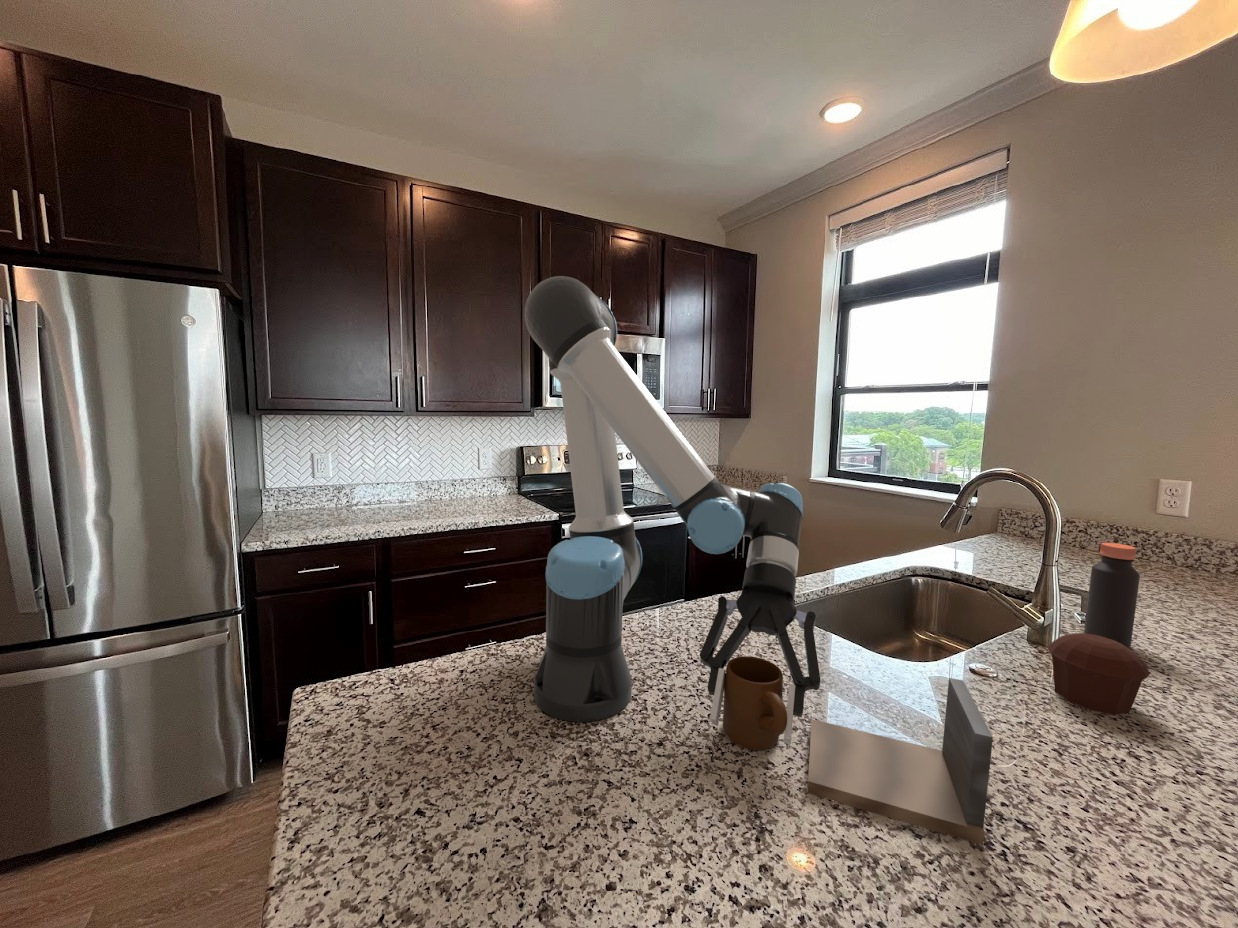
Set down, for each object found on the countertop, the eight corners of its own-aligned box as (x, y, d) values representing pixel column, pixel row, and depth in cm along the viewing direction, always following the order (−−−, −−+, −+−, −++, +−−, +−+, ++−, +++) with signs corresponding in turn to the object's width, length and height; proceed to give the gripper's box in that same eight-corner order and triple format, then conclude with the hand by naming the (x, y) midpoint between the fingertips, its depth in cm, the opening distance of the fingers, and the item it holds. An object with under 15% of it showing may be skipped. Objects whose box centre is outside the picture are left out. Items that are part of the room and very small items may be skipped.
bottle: (1124, 641, 101) (1136, 544, 99) (1135, 654, 95) (1148, 552, 93) (1079, 632, 104) (1090, 539, 102) (1088, 644, 99) (1099, 546, 97)
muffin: (1040, 697, 79) (1047, 637, 78) (1044, 672, 87) (1050, 617, 86) (1149, 731, 71) (1158, 664, 70) (1141, 700, 79) (1149, 640, 78)
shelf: (807, 793, 58) (813, 699, 56) (810, 729, 69) (816, 650, 68) (983, 845, 51) (994, 740, 50) (953, 764, 63) (962, 678, 62)
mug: (808, 774, 61) (814, 702, 60) (750, 780, 59) (755, 706, 58) (763, 715, 72) (767, 653, 71) (713, 719, 71) (717, 656, 70)
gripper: (844, 595, 75) (838, 762, 61) (705, 574, 83) (674, 717, 70) (848, 571, 69) (843, 748, 56) (699, 551, 77) (664, 701, 64)
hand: (749, 731), depth 63 cm, fingers closed on mug, 8 cm apart
